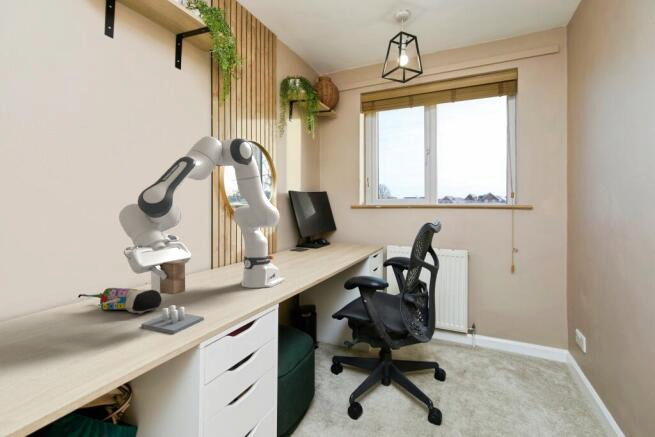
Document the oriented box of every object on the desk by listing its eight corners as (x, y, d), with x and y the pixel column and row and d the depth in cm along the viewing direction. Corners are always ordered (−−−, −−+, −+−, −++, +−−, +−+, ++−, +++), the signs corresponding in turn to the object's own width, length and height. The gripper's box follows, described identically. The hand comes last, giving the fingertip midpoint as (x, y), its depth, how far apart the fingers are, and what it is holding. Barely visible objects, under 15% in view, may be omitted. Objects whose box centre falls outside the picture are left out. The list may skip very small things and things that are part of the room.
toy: (60, 317, 105) (127, 321, 97) (60, 292, 105) (127, 294, 97) (122, 301, 127) (180, 304, 119) (121, 280, 128) (180, 281, 119)
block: (171, 289, 101) (171, 259, 101) (185, 291, 99) (184, 261, 99) (160, 292, 97) (159, 262, 97) (173, 294, 95) (173, 263, 95)
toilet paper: (181, 288, 140) (181, 262, 140) (164, 294, 130) (164, 266, 130) (163, 286, 143) (162, 261, 142) (145, 292, 133) (144, 265, 132)
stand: (173, 314, 107) (172, 300, 107) (203, 319, 102) (203, 305, 101) (141, 326, 96) (141, 311, 95) (174, 333, 91) (173, 317, 90)
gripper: (125, 241, 90) (149, 276, 87) (181, 235, 109) (202, 264, 106) (116, 255, 92) (139, 290, 89) (172, 246, 111) (193, 275, 108)
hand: (174, 275), depth 98 cm, fingers closed on block, 4 cm apart
